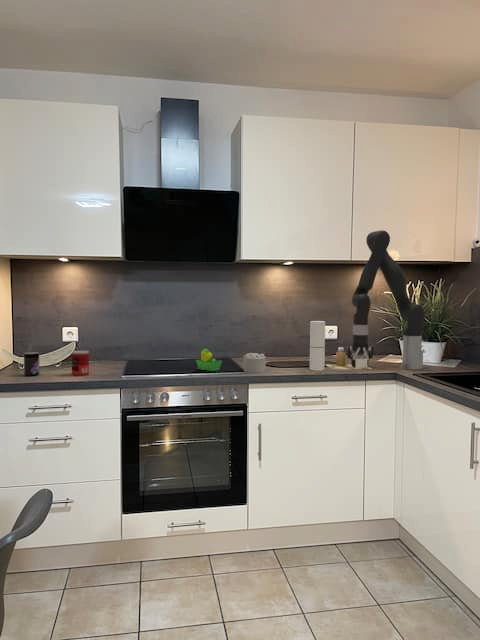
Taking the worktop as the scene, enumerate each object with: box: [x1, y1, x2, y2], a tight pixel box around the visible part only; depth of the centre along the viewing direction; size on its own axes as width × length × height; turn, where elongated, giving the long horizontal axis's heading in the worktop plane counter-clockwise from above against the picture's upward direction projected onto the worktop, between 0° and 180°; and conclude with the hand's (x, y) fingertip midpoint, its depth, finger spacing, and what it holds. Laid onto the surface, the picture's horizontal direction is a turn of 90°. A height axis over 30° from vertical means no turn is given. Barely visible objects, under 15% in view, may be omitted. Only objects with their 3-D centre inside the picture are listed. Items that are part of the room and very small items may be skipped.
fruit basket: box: [195, 348, 223, 372], centre depth 241 cm, size 11×9×11 cm
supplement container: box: [23, 351, 41, 377], centre depth 225 cm, size 7×7×10 cm
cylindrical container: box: [309, 320, 326, 374], centre depth 237 cm, size 7×7×25 cm
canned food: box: [71, 350, 90, 377], centre depth 227 cm, size 8×8×11 cm
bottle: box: [335, 346, 347, 367], centre depth 249 cm, size 5×5×10 cm
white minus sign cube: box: [355, 356, 368, 368], centre depth 244 cm, size 6×6×5 cm
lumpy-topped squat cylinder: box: [242, 352, 266, 374], centre depth 241 cm, size 10×13×9 cm
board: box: [324, 363, 373, 370], centre depth 247 cm, size 20×16×2 cm
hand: (359, 366), depth 244 cm, fingers closed on white minus sign cube, 5 cm apart
